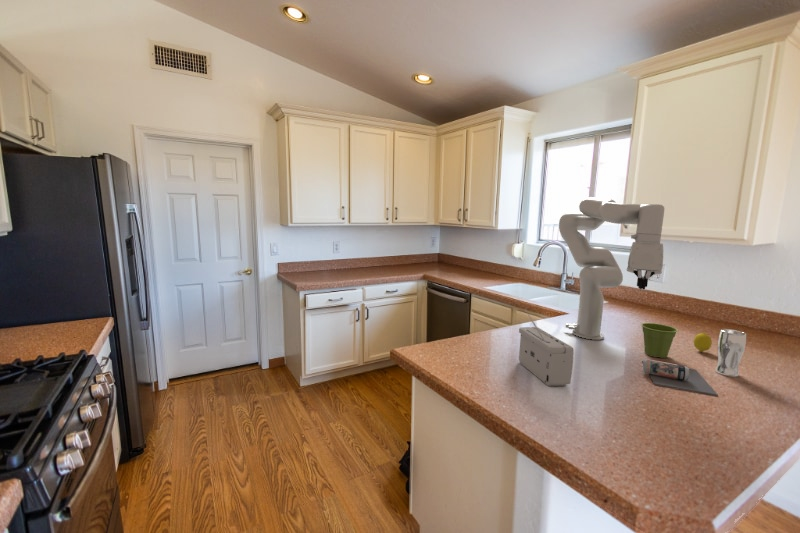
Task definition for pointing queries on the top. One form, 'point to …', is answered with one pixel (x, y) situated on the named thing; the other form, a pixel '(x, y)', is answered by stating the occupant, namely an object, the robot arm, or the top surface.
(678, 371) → the beer can
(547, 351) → the stereo radio cassette player
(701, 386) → the rubber mat
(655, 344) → the plant pot
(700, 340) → the lemon
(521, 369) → the top surface
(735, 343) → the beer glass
